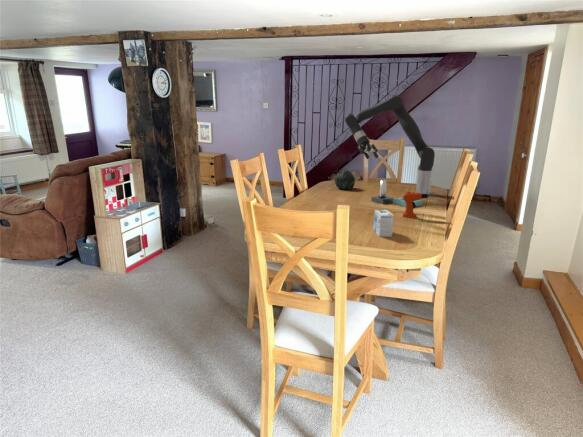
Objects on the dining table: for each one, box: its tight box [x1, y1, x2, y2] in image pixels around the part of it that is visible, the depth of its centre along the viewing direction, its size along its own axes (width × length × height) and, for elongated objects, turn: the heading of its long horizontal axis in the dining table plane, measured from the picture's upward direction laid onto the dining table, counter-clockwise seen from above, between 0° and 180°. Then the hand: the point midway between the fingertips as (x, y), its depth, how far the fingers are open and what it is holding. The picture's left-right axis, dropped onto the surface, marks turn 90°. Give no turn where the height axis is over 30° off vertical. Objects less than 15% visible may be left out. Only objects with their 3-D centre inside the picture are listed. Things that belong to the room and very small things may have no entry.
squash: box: [334, 170, 356, 191], centre depth 306 cm, size 14×15×15 cm
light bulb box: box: [373, 209, 395, 238], centre depth 201 cm, size 11×7×11 cm, turn 5°
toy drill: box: [402, 191, 438, 219], centre depth 229 cm, size 5×19×15 cm, turn 75°
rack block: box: [392, 196, 424, 208], centre depth 261 cm, size 13×13×3 cm
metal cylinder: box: [378, 179, 388, 198], centre depth 266 cm, size 4×4×14 cm
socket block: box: [370, 194, 395, 205], centre depth 268 cm, size 10×10×3 cm
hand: (372, 157), depth 271 cm, fingers open, 8 cm apart
